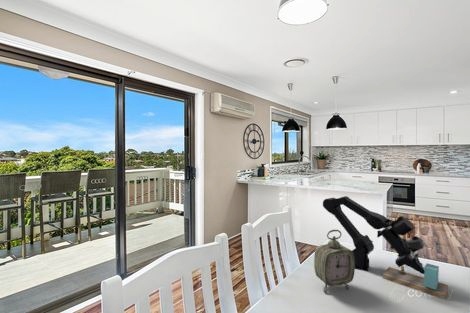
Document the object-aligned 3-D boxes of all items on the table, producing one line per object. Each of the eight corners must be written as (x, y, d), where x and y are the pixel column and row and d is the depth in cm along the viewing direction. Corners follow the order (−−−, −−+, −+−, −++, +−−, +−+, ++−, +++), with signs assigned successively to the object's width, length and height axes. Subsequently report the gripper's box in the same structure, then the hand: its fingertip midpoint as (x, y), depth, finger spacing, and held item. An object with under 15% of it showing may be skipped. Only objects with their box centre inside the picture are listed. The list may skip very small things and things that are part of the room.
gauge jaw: (423, 285, 104) (424, 267, 103) (427, 279, 109) (427, 261, 109) (436, 289, 101) (436, 270, 101) (438, 283, 106) (439, 264, 106)
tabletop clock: (324, 296, 100) (325, 234, 99) (311, 284, 109) (312, 227, 108) (354, 290, 104) (356, 231, 103) (339, 279, 113) (341, 224, 112)
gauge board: (382, 278, 114) (382, 267, 114) (389, 270, 121) (389, 260, 121) (445, 299, 99) (445, 287, 98) (448, 289, 106) (448, 278, 105)
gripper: (405, 236, 102) (438, 272, 95) (415, 226, 115) (445, 258, 108) (383, 249, 108) (413, 284, 101) (395, 239, 121) (422, 269, 114)
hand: (424, 273), depth 106 cm, fingers closed, pressing on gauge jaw
